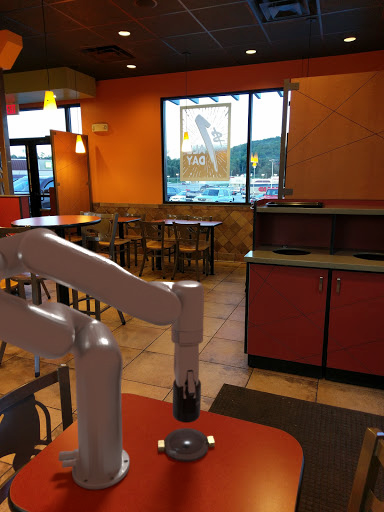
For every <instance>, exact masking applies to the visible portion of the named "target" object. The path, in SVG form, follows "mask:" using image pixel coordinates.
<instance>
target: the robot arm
mask: <svg viewBox="0 0 384 512" xmlns="http://www.w3.org/2000/svg"><path fill="white" fill-rule="evenodd" d="M28 272H29V273H31V274H33V275H36V276H38V277H41V278H44V279H46V280H49V281H51V282H54V283H56V284H59V285H62V286H65V287H66V288H70V289H73V290H75V291H78V292H80V293H82V294H84V295H87V296H89V297H91V298H93V299H95V300H97V301H99V302H100V303H103V304H105V305H107V306H110V307H112V308H114V309H115V310H118V311H119V312H121V313H124V314H126V315H127V316H130V317H133V318H135V319H138V320H140V321H143V322H146V323H148V324H151V325H154V326H158V327H165V326H170V325H171V326H170V327H171V329H170V331H171V332H170V335H171V337H170V340H171V342H172V343H173V344H174V348H173V375H174V380H175V379H176V383H177V386H178V387H180V386H183V397H182V413H183V414H188V413H195V412H196V395H195V386H197V385H198V380H200V379H199V376H200V356H199V355H200V352H199V351H200V347H199V345H200V344H202V343H203V341H204V309H205V306H204V305H205V289H204V288H205V287H204V285H203V284H202V283H201V282H199V281H195V280H179V281H176V282H175V281H174V282H170V281H160V280H159V281H157V280H155V281H146V280H145V279H141V278H140V277H138V276H136V275H134V274H132V273H130V272H129V271H127V270H126V269H124V268H123V267H121V265H119V264H117V263H116V262H115V261H113V260H111V259H109V258H108V257H105V256H104V255H101V254H99V253H96V252H95V251H92V250H89V249H88V248H84V247H83V246H80V245H78V244H76V243H73V242H72V241H69V240H67V239H65V238H63V237H60V236H58V234H57V233H55V232H54V231H52V230H51V229H48V228H45V227H44V228H43V227H38V228H33V229H29V230H26V231H23V232H19V233H15V234H13V235H8V236H5V237H1V238H0V283H1V282H2V281H3V280H6V279H8V278H9V279H10V278H12V277H16V276H19V275H21V274H25V273H28ZM0 341H2V342H4V343H6V344H8V345H11V346H13V347H16V348H19V349H21V350H23V351H25V352H27V353H31V355H32V354H33V355H34V356H38V357H40V358H43V359H46V360H58V359H61V358H64V357H65V356H67V355H68V354H69V353H70V354H72V355H73V360H74V370H75V396H76V397H75V401H76V404H75V405H76V417H77V418H76V419H77V442H78V444H77V445H78V448H75V449H73V450H70V451H69V450H63V451H59V453H58V462H62V464H61V466H62V467H61V468H62V469H63V468H70V467H71V468H72V469H71V473H72V475H71V476H72V478H73V481H74V482H75V484H77V485H78V486H80V487H82V488H84V489H88V490H102V489H106V488H109V487H112V486H114V485H116V484H118V483H119V482H120V481H121V480H122V479H123V478H124V477H125V476H126V475H127V474H128V471H129V469H130V463H131V461H130V456H129V454H128V453H127V451H126V450H125V449H124V448H123V421H122V420H123V419H122V418H123V416H122V414H123V413H122V412H123V411H122V409H123V406H122V376H123V370H124V369H123V366H124V364H123V363H124V362H123V355H122V352H121V348H120V346H119V343H118V341H117V340H116V338H115V336H114V334H113V333H112V331H111V329H110V328H109V327H108V326H107V325H106V324H105V323H103V322H101V321H100V320H98V319H96V318H94V317H92V316H90V315H88V314H86V313H83V312H81V311H79V310H77V309H75V308H74V307H70V306H68V305H66V304H64V303H61V302H57V301H48V302H44V303H41V304H39V305H36V304H34V303H32V302H30V301H28V300H26V299H25V298H22V297H20V296H17V295H13V294H11V293H8V292H6V291H5V290H3V289H2V288H1V287H0ZM186 381H188V384H185V382H186ZM186 387H188V391H186Z"/></svg>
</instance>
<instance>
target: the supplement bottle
mask: <svg viewBox="0 0 384 512" xmlns="http://www.w3.org/2000/svg"><path fill="white" fill-rule="evenodd" d="M185 384H188V381H186V382H185ZM186 391H188V387H186ZM195 395H196V412H195V413H188V414H183V413H182V397H183V386H180V387H178V386H177V383H176V379H175V378H174V380H173V383H172V417H173V418H174V419H175V420H176V421H178V422H180V423H184V424H185V423H186V424H188V423H193V422H195V421H197V420H198V419H200V416H201V403H202V402H201V401H202V399H201V398H202V382H201V380H200V379H199V380H198V385H197V386H195Z"/></svg>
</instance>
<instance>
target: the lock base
mask: <svg viewBox="0 0 384 512" xmlns="http://www.w3.org/2000/svg"><path fill="white" fill-rule="evenodd" d="M157 447H158V452H165V454H166V455H167V457H169V458H171V459H172V460H174V461H177V462H182V463H190V462H191V463H192V462H195V461H198V460H201V459H202V458H204V457H205V455H207V453H208V451H209V448H215V447H216V445H215V439H214V436H213V435H209V436H207V435H205V433H203V432H202V431H200V430H198V429H195V428H191V427H189V428H188V427H183V428H182V427H181V428H178V429H175V430H173V431H171V432H169V433H168V434H167V435H166V437H165V438H164V439H161V440H160V439H159V440H157Z"/></svg>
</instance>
